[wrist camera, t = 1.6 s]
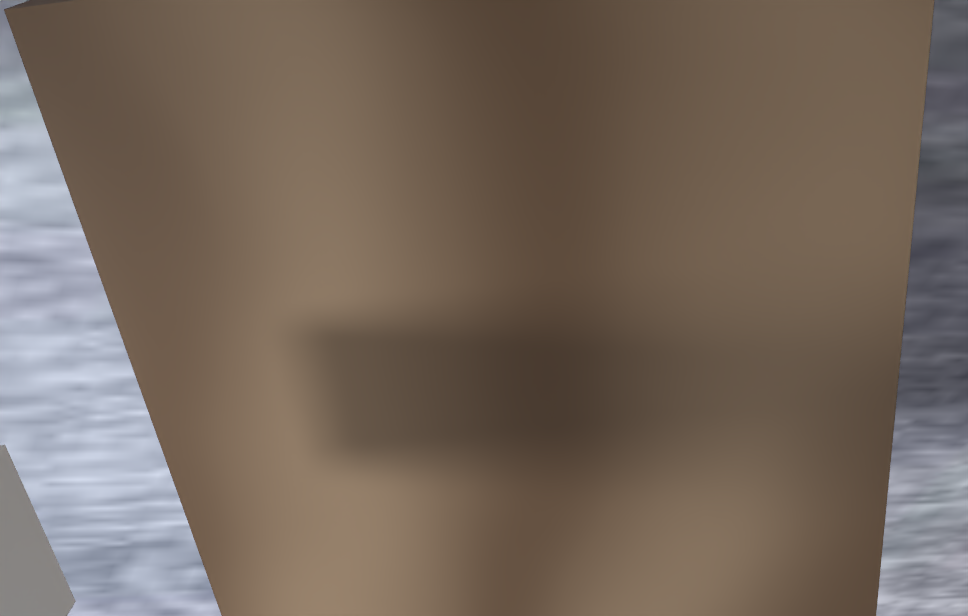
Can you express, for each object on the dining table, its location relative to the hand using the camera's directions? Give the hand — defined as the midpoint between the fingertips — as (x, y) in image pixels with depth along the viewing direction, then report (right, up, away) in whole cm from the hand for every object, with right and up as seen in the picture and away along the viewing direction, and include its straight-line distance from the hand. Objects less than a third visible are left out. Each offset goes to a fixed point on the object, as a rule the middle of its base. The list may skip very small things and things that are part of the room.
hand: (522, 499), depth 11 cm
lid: (0, +2, +4) cm, 5 cm away
